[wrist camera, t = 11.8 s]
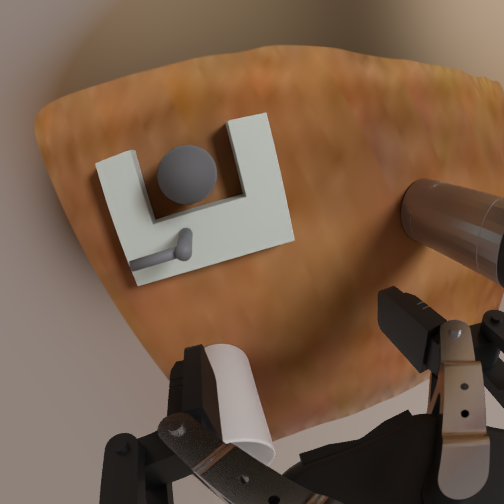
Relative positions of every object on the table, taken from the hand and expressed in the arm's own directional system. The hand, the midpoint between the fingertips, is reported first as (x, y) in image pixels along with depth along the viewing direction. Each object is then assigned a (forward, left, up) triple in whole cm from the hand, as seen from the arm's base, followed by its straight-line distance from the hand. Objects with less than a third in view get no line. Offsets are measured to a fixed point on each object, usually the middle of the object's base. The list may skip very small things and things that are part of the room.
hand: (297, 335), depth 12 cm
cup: (+7, +19, -22) cm, 30 cm away
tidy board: (+3, -4, -22) cm, 23 cm away
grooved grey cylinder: (+3, -7, -22) cm, 23 cm away
